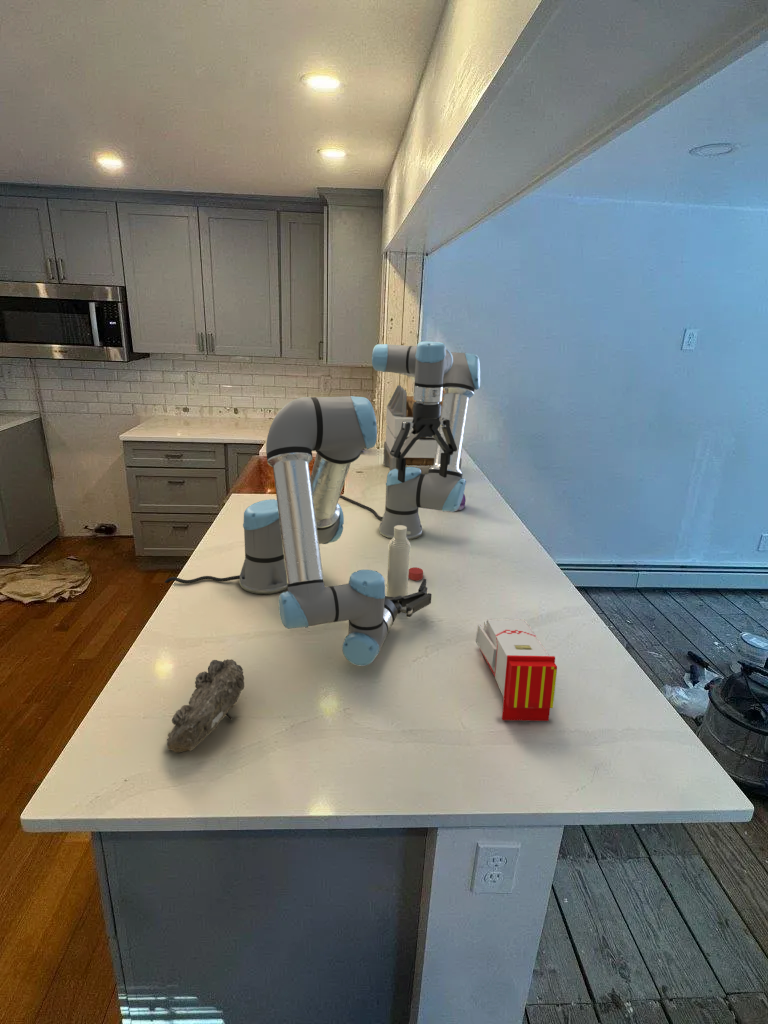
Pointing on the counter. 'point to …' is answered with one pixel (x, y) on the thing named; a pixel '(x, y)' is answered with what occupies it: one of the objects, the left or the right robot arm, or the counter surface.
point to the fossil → (206, 705)
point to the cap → (415, 573)
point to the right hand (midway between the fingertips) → (422, 478)
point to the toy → (519, 668)
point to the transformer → (423, 447)
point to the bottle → (398, 563)
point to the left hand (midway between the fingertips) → (399, 579)
